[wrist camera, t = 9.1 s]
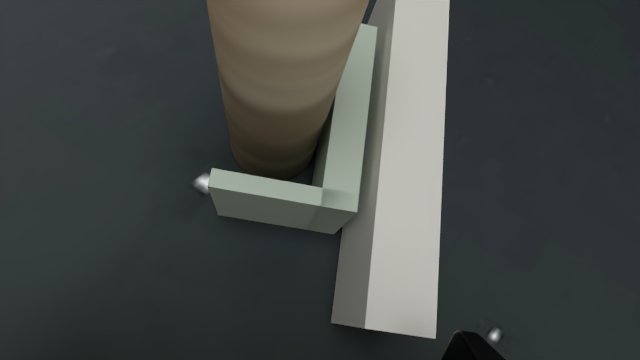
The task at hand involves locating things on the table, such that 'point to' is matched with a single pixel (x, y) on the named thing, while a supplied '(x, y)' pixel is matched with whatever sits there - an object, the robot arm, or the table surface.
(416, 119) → the wall
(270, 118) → the dowel
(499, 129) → the table surface
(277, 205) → the bracket
